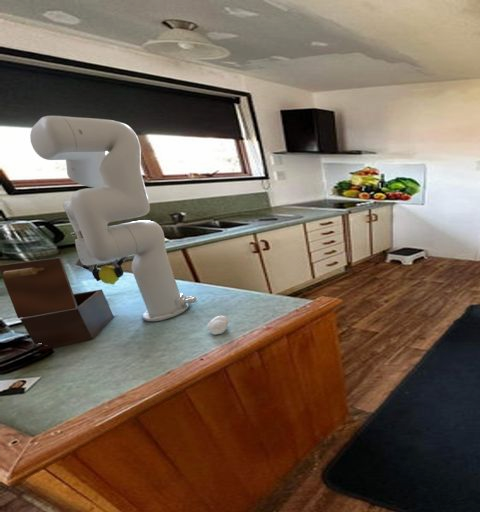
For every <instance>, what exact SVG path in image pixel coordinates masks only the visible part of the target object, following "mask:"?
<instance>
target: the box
mask: <svg viewBox="0 0 480 512" xmlns="http://www.w3.org/2000/svg"><path fill="white" fill-rule="evenodd" d="M73 294H74V297H75V300H76V303H77V306H78V307H77V308H73V309H67V310H61V311H56V312H50V313H45V314H39V315H34V316H28V317H23V318H19V319H20V322H21V324H22V325H23V327H24V329H25V330H26V332H27V334H28V335H29V337H30V339H31V341H32V342H33V344H34V345H35V344H38V343H42V344H44V345H48V346H44V347H40V348H38V349H37V351H38V352H39V351H45V350H49V349H53V348H58V347H61V346H62V347H63V346H67V345H72V344H78V343H82V342H87V341H90V340H93V339H94V338H95V337H96V336H97V335H98V334H99V333H100V332H101V331H102V330H103V329H104V328H105V327H106V326H107V325H108V324H109V323H110V322H111V320H112V319H114V316H115V315H114V313H113V312H112V309H111V307H110V305H109V302H108V300H107V298H106V296H105V294H104V291H103V289H96V290H90V291H84V292H78V293H77V292H76V293H73Z"/></svg>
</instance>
